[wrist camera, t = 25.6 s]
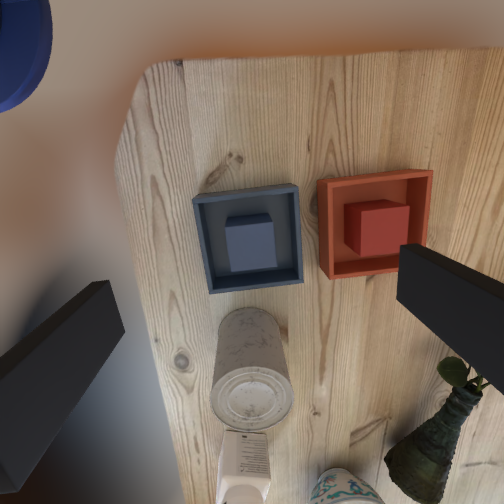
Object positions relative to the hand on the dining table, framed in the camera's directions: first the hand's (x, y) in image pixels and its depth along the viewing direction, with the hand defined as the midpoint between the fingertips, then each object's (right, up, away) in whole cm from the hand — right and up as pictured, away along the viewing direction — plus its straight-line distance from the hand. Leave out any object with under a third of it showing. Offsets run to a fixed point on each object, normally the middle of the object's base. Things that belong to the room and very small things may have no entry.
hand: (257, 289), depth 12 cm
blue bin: (-1, +4, +25) cm, 25 cm away
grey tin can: (-1, -11, +30) cm, 32 cm away
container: (-2, -34, +38) cm, 51 cm away
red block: (+15, +6, +24) cm, 29 cm away
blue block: (-1, +4, +24) cm, 25 cm away
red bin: (+15, +6, +25) cm, 29 cm away
